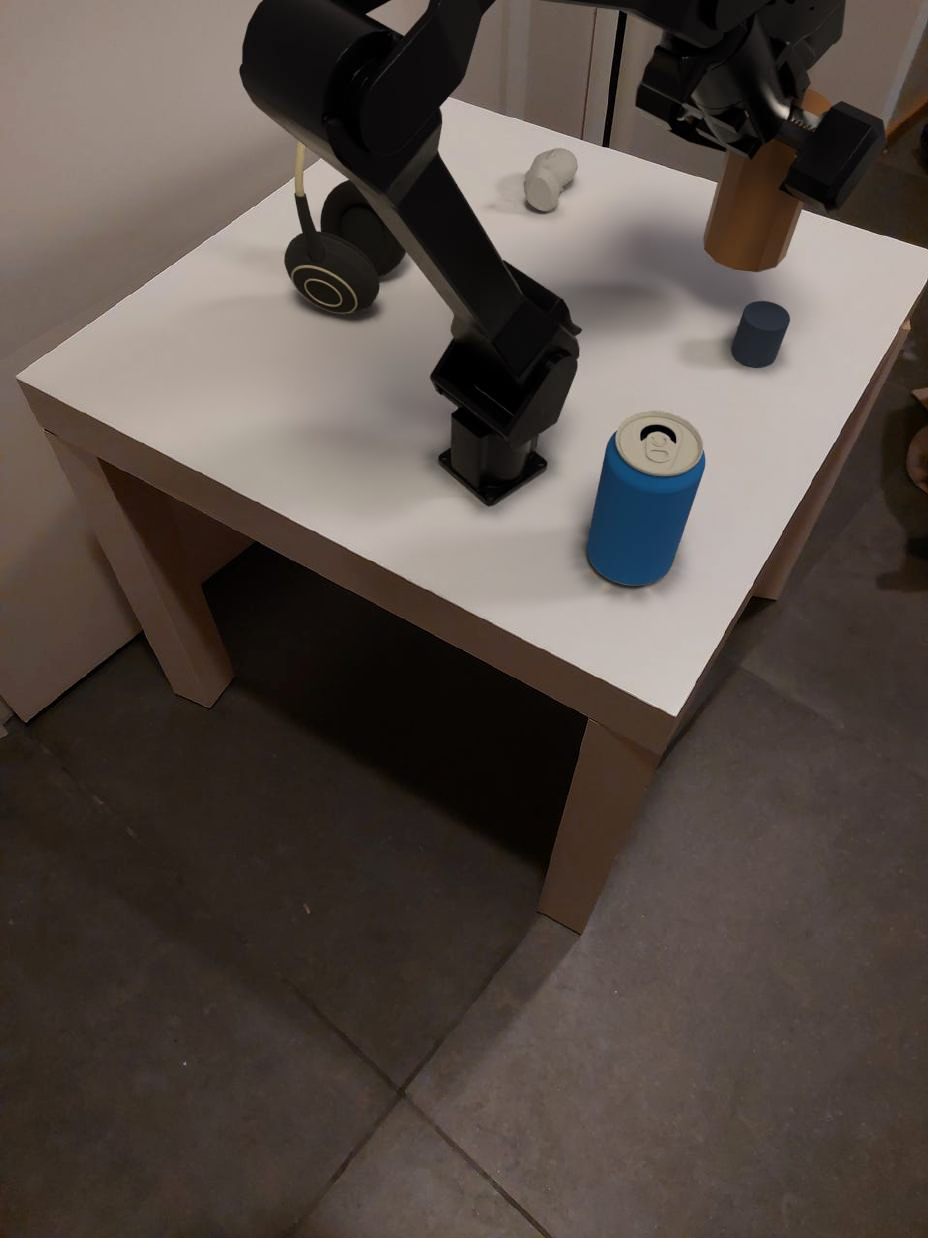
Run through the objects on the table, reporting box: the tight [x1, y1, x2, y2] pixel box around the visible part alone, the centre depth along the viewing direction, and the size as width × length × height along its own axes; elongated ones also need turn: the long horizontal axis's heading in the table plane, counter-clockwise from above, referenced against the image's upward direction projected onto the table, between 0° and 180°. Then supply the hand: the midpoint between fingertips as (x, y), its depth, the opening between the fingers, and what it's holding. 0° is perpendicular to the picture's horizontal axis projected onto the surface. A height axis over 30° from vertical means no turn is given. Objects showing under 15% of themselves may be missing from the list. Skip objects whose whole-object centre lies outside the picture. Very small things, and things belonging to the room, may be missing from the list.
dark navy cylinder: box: [730, 300, 791, 368], centre depth 79 cm, size 4×4×4 cm
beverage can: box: [586, 410, 706, 587], centre depth 63 cm, size 6×6×12 cm
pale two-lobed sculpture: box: [524, 147, 579, 212], centre depth 93 cm, size 4×8×5 cm
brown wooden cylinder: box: [702, 87, 833, 273], centre depth 73 cm, size 7×7×13 cm
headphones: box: [283, 140, 407, 315], centre depth 76 cm, size 9×15×20 cm, turn 160°
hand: (776, 167), depth 74 cm, fingers closed on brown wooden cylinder, 7 cm apart
